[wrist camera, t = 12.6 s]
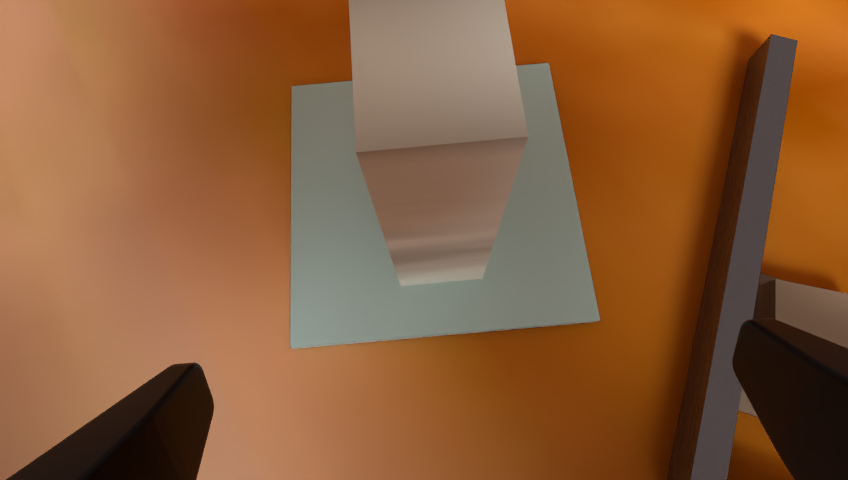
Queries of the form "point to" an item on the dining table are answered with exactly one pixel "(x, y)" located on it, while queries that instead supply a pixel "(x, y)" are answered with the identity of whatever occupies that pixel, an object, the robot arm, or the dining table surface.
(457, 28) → the beige rectangular block
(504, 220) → the mat
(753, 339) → the robot arm
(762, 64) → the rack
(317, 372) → the dining table surface
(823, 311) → the upper offcut
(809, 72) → the dining table surface
